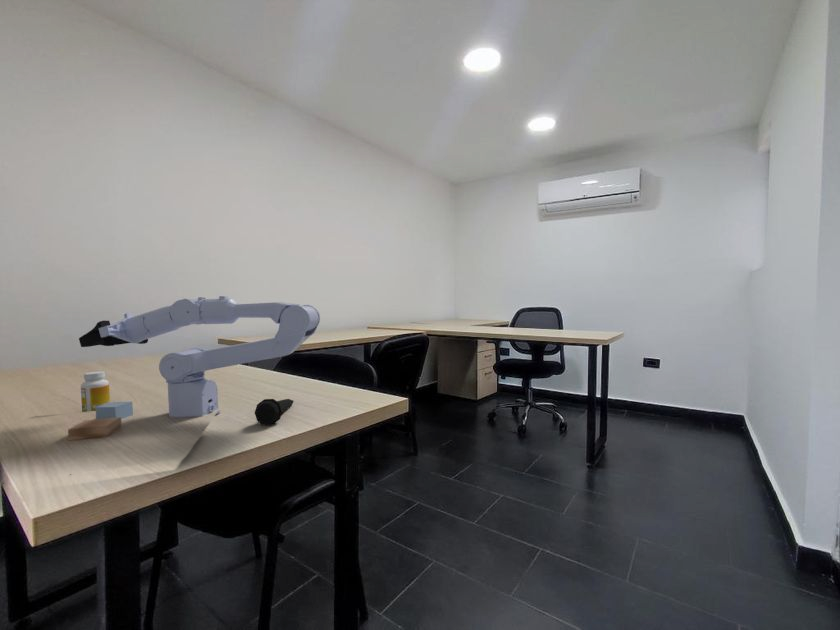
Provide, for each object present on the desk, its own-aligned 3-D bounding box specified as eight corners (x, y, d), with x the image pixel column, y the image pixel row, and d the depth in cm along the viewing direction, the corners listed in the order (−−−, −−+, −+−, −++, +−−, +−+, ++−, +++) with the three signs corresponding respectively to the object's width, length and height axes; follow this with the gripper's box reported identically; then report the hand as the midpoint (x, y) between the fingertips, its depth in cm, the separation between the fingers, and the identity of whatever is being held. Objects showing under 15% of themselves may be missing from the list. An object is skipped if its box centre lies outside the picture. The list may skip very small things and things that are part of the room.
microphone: (285, 415, 99) (255, 432, 79) (278, 394, 100) (246, 405, 80) (306, 408, 100) (280, 422, 80) (299, 387, 100) (272, 396, 80)
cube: (133, 421, 87) (132, 401, 87) (116, 427, 82) (115, 407, 82) (114, 421, 87) (113, 401, 87) (96, 427, 83) (95, 407, 82)
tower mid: (121, 426, 78) (120, 417, 78) (107, 436, 73) (107, 425, 73) (85, 430, 76) (85, 420, 76) (68, 440, 71) (68, 429, 71)
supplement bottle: (115, 407, 99) (113, 370, 98) (101, 413, 93) (99, 374, 93) (91, 409, 98) (89, 371, 97) (76, 415, 92) (74, 375, 92)
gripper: (169, 308, 94) (117, 324, 94) (122, 305, 80) (61, 325, 80) (177, 335, 94) (125, 352, 94) (132, 337, 80) (70, 357, 80)
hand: (96, 341), depth 87 cm, fingers open, 7 cm apart
